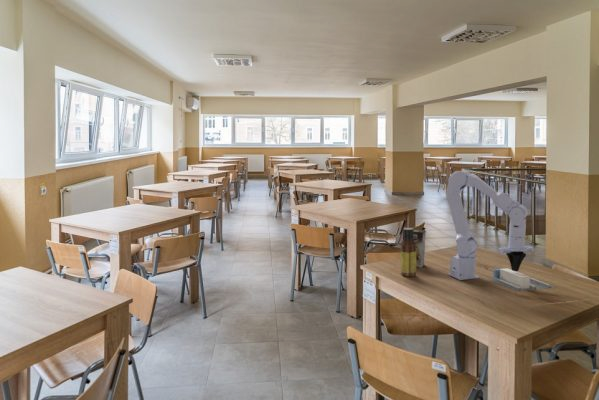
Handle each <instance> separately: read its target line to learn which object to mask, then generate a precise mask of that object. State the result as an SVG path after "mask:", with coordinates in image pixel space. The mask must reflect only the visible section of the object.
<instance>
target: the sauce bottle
mask: <svg viewBox="0 0 599 400" xmlns="http://www.w3.org/2000/svg"><path fill="white" fill-rule="evenodd" d="M413 229H414V228H413V227H404V228H403V229H402V233H403V232H404V239H403V238H402V241H401V243H400V272H401V273H400V274H401V276H404V277H415V276H417V267H416V243H415V242H414V240H413Z"/></svg>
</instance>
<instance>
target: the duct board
mask: <svg viewBox="0 0 599 400" xmlns="http://www.w3.org/2000/svg"><path fill="white" fill-rule="evenodd" d="M507 268H508V269H510V268H509V267H507ZM500 269H501V268H494V269H493V276H492V278H488V280H489V281H492V282H493V283H496V284H498V285H501V286H503V287H505V288H507V289H510V290H513V291H514V292H525V291H537V290H549V289H556V288H557V287H556V286H553V285H551V284H549V283H547V282H544V281H541V280H538V279H536V278H533V277H531V276H530V285H529V288H526V289H521V288H520V287H518V286H515V285H513V284H511V283H508V282H506V281H503V280H501V279H500ZM502 269H505V268H502Z"/></svg>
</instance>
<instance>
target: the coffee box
mask: <svg viewBox="0 0 599 400" xmlns="http://www.w3.org/2000/svg"><path fill="white" fill-rule="evenodd" d="M426 233H427V231H426V230H425V229H423V230H422V229H414V228H413V240H414V242H415V243H416V268H422V267H423V266H425V254H426V253H425V249H426ZM403 239H404V232H403V231H402V240H403Z"/></svg>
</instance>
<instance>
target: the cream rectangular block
mask: <svg viewBox="0 0 599 400" xmlns="http://www.w3.org/2000/svg"><path fill="white" fill-rule="evenodd" d="M508 268H509V267H506V268H505V269H503V268H499V269H500V279H501V280H503V281H506V282H508V283H511V284H513V285H515V286H518V287H520V288H521V289H526V288H529V285H530V277H531V276H529V275H527V274H524V273H522V272H519V271H513V270H512V268H509V269H508Z"/></svg>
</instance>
